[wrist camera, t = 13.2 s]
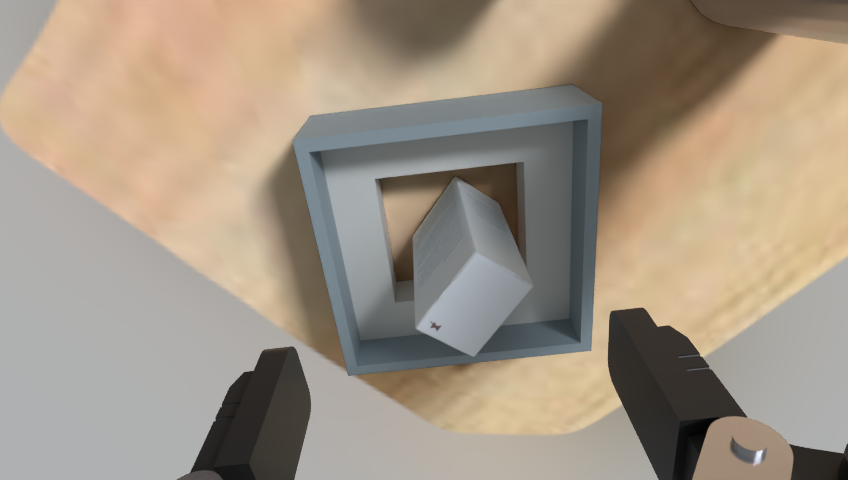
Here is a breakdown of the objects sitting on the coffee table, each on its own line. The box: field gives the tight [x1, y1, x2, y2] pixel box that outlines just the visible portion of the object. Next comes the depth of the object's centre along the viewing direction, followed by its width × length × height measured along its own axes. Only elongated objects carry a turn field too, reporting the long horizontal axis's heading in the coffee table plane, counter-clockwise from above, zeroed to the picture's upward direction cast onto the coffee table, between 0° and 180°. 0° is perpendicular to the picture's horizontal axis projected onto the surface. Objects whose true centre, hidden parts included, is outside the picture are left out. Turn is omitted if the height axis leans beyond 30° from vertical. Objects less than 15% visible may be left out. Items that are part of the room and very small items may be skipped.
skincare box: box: [413, 177, 534, 357], centre depth 34 cm, size 6×4×12 cm
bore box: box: [292, 84, 603, 376], centre depth 36 cm, size 18×18×6 cm
